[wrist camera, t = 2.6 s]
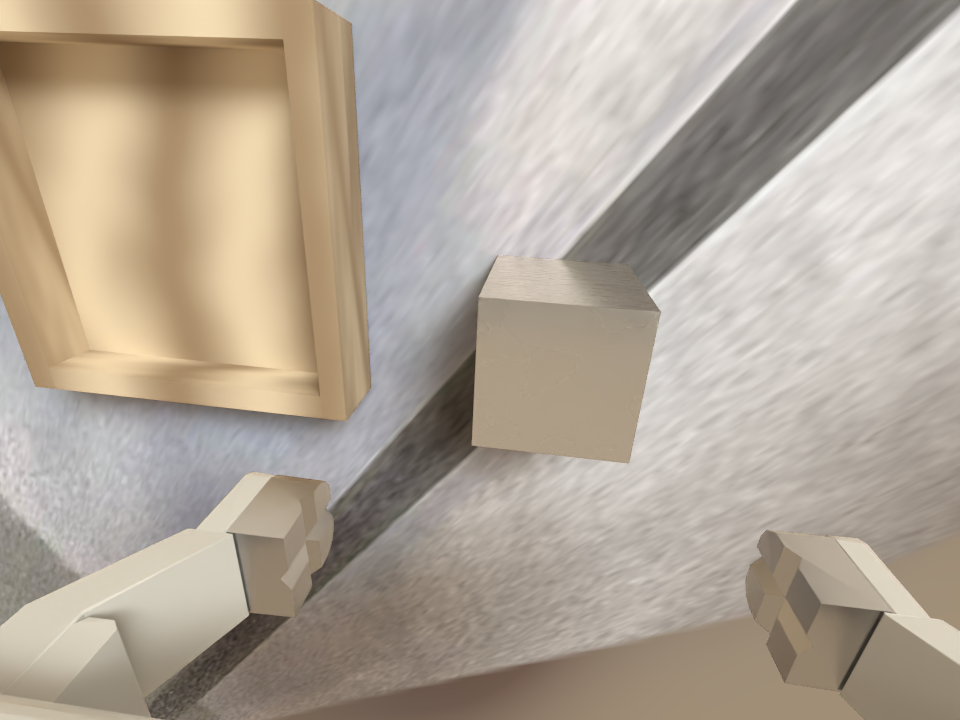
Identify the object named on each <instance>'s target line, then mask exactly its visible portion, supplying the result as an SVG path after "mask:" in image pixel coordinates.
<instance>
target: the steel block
mask: <svg viewBox="0 0 960 720" xmlns="http://www.w3.org/2000/svg"><path fill="white" fill-rule="evenodd" d="M660 313H661V312H660V310H659V309H658V307H657V306H656V304H655V303H654V301H653V300H652V299H651V297H650V296H649V294H648V293H647V291H646V290H645V289H644V287H643V286H642V284H641V283H640V281H639V280H638V279H637V277H636V276H635V274H634V273H633V271H632V270H631V269H630V267H629V266H628V264H617V263H603V262H589V261H576V260H562V259H548V258H534V257H521V256H507V255H498V257H497V259H496V261H495V263H494V265H493V267H492V269H491V272H490V274H489V276H488V278H487V280H486V282H485V284H484V287H483V289H482V291H481V293H480V295H479V299H478V320H477V342H476V364H475V385H474V407H473V429H472V446H480V447H489V448H498V449H506V450H515V451H524V452H533V453H542V454H551V455H559V456H568V457H577V458H586V459H595V460H604V461H612V462H621V463H629V461H630V456H631V451H632V446H633V442H634V437H635V432H636V427H637V422H638V418H639V413H640V408H641V403H642V399H643V394H644V389H645V384H646V380H647V375H648V370H649V365H650V361H651V356H652V351H653V346H654V342H655V337H656V332H657V327H658V323H659V318H660Z"/></svg>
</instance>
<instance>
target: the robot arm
mask: <svg viewBox="0 0 960 720" xmlns="http://www.w3.org/2000/svg"><path fill="white" fill-rule="evenodd" d="M330 499H331V495H330V487H329V484H328V483H327V482H325V481H320V480H313V479H305V478H298V477H290V476H283V475H272V474H264V473H257V472H252V473H249V474H246V475H245V476H244V477H243V478H242V479H241V480H240V481H239V482H238V484H237V485H236V486H235V487H234V488H233V489H232V490H231V491H230V492H229V493H228V494H227V496H226V497H225V498H224V499H223V500H222V501H221V502H220V503H219V504H218V505H217V506H216V508H215V509H214V510H213V511H212V512H211V513H210V514H209V515H208V516H207V517H206V518H205V520H204V521H203V522H202V523H201V524H200V525H199V526H198V527H197V528H196V529H185V530H183V531H181V532H179V533H177V534H175V535H173V536H171V537H168V538H166V539H164V540H162V541H160V542H158V543H156V544H154V545H151V546H149V547H147V548H145V549H143V550H141V551H139V552H137V553H135V554H132V555H130V556H128V557H126V558H124V559H122V560H120V561H118V562H115V563H113V564H111V565H109V566H107V567H105V568H103V569H101V570H98V571H96V572H94V573H92V574H90V575H88V576H86V577H84V578H81V579H79V580H77V581H75V582H73V583H71V584H69V585H67V586H65V587H62V588H60V589H58V590H56V591H54V592H52V593H50V594H48V595H45V596H43V597H41V598H39V599H37V600H35V601H33V602H31V603H28V604H26V605H25V606H24V607H22V608H21V609H20V610H19V611H18V612H17V613H16V614H14V615H13V616H12V617H11V618H10V619H9V620H8V621H6V622H5V623H4V624H3V625H2V626H1V627H0V720H163V719H157V718H151V715H150V713H149V710H148V707H147V705H146V702H145V699H144V698H146V697H147V696H148V695H149V694H151V693H152V692H153V691H154V690H156V689H157V688H158V687H159V686H161V685H162V684H163V683H164V682H166V681H167V680H168V679H170V678H171V677H172V676H173V675H175V674H176V673H177V672H178V671H180V670H181V669H182V668H183V667H185V666H186V665H187V664H188V663H190V662H191V661H192V660H194V659H195V658H196V657H197V656H199V655H200V654H201V653H202V652H204V651H205V650H206V649H207V648H209V647H210V646H211V645H212V644H214V643H215V642H216V641H217V640H219V639H220V638H221V637H223V636H224V635H225V634H226V633H228V632H229V631H230V630H231V629H233V628H234V627H235V626H236V625H238V624H239V623H240V622H241V621H243V620H244V619H245V618H247V617H248V616H249V613H258V614H268V615H277V616H287V617H296V616H297V614H298V612H299V610H300V608H301V606H302V604H303V602H304V600H305V599H306V597H307V595H308V593H309V591H310V589H311V587H312V582H311V574H312V573H313V572H315V571H316V570H318V569H319V568H321V567H322V566H323V564H324V562H325V560H326V558H327V556H328V554H329V550H330V546H331V543H332V539H333V528H334V525H333V516H332V515H331V514H330V513H329V512H328V510H327V509H326V506H327V505H328V503H329V501H330ZM757 548H758V549H759V551H760V553H761V555H762V557H761V558H760V559H758V560H757V561H755V562H754V563H752V564H751V565H750V567H749V570H748V573H747V577H746V597H747V601H748V605H749V608H750V610H751V613H752V615H753V617H754V619H755V621H756V622H757V623H758V624H760V625H761V626H762V627H763V628H764V629H765V630H766V631H768V632H769V633H770V635H769V638H768V641H767V644H766V645H767V647H768V649H769V651H770V653H771V655H772V657H773V660H774V662H775V664H776V666H777V668H778V670H779V672H780V674H781V676H782V678H783V680H784V683H788V684H795V685H801V686H807V687H813V688H819V689H825V690H832V691H838V692H841V693H840V695H841V696H842V697H843V698H844V699H845V700H846V701H847V702H848V703H849V704H850V705H851V706H852V707H853V708H854V709H855V710H856V711H857V712H858V713H859V714H860V715H861V716H862V717H863V718H864V719H865V720H960V631H959V630H957V629H955V628H954V627H952V626H951V625H949V624H948V623H946V622H944V621H943V620H940V619H933V618H930V617H929V616H928V614H927V613H926V612H925V611H924V610H923V609H922V607H921V606H920V605H919V604H918V603H917V602H916V601H915V599H914V598H913V597H912V596H911V595H910V593H909V592H908V591H907V590H906V589H905V588H904V587H903V585H902V584H901V583H900V582H899V581H898V579H897V578H896V577H895V576H894V575H893V574H892V572H891V571H890V570H889V569H888V568H887V567H886V565H885V564H884V563H883V562H882V561H881V560H880V559H879V557H878V556H877V555H876V554H875V553H874V552H873V550H872V549H871V548H870V547H869V546H868V545H867V544H866V543H865V542H863V541H861V540H860V539H858V538H851V537H840V536H829V535H827V536H822V535H812V534H802V533H793V532H783V531H773V530H766V531H765V532H764V533H763V534H762V535H761V537H760V540H759V542H758V545H757Z"/></svg>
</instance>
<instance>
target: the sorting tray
mask: <svg viewBox="0 0 960 720" xmlns="http://www.w3.org/2000/svg"><path fill="white" fill-rule="evenodd" d="M0 294H1V297H2V299H3V302H4V305H5V307H6V310H7V312H8V315H9V318H10V320H11V323H12V326H13V328H14V331H15V334H16V336H17V339H18V342H19V344H20V347H21V350H22V352H23V355H24V357H25V360H26V363H27V365H28V368H29V371H30V373H31V376H32V379H33V381H34V384H35V387H44V388H53V389H62V390H71V391H80V392H89V393H98V394H107V395H116V396H125V397H134V398H143V399H152V400H161V401H170V402H179V403H188V404H197V405H206V406H215V407H224V408H233V409H242V410H251V411H260V412H269V413H278V414H287V415H296V416H305V417H314V418H323V419H332V420H341V421H347V419H348V418H349V417H350V415H351V414H352V413H353V411H354V410H355V409H356V407H357V406H358V404H359V403H360V402H361V400H362V399H363V398H364V396H365V395H366V394H367V392H368V391H369V390H370V388H371V376H370V357H369V339H368V320H367V301H366V283H365V264H364V246H363V227H362V208H361V190H360V171H359V152H358V134H357V115H356V97H355V78H354V59H353V41H352V24H351V23H350V22H348V21H347V20H345V19H344V18H342V17H340V16H339V15H337V14H336V13H334V12H333V11H331V10H330V9H328V8H326V7H325V6H323V5H322V4H320V3H319V2H317V1H315V0H0Z"/></svg>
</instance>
